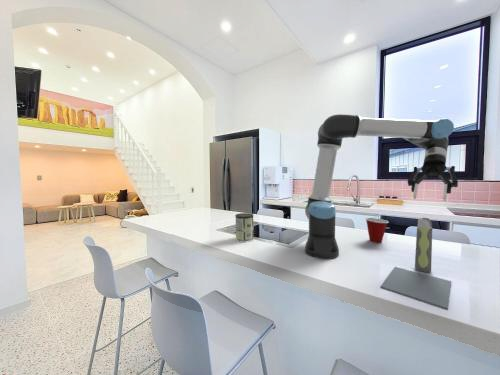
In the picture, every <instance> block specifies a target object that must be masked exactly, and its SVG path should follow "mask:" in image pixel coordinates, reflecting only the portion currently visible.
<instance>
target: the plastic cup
mask: <svg viewBox="0 0 500 375" xmlns="http://www.w3.org/2000/svg"><path fill="white" fill-rule="evenodd" d="M365 220H366V226H367V232H368V237H369V241H370V242H373V243H382V242H383V240H384V235H385V232H386V227H387V225H388V224H389V221H388V220H387V219H386V220H385V219H381V218H376V217H366V218H365Z"/></svg>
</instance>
